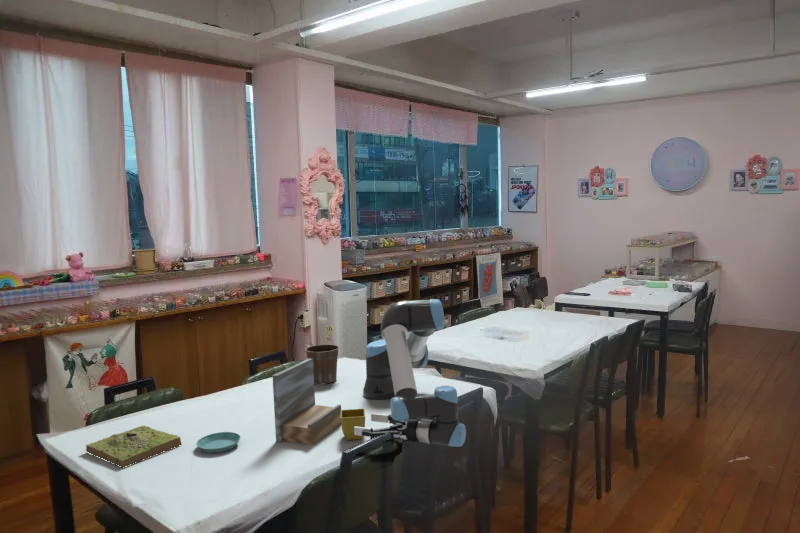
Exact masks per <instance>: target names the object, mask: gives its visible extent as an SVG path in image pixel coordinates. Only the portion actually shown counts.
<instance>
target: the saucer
mask: <svg viewBox="0 0 800 533" xmlns="http://www.w3.org/2000/svg"><path fill="white" fill-rule="evenodd" d="M240 440H241V435H240V434H239V433H236V432H233V431H232V432H231V431H222V432H221V431H220V432H215V433H211V434H208V435H205V436H203V437H200V438H199V439H198V440H197V441H196V443H195V444H196V446H197V447H198V448H199V449H200V450H201V451H203V452H204V453H206V454H218V453H224V452H228V451H230V450H231V449H233V448H235V446H236V445H238V443H239V442H240Z"/></svg>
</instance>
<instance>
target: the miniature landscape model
mask: <svg viewBox="0 0 800 533" xmlns="http://www.w3.org/2000/svg"><path fill="white" fill-rule="evenodd" d="M85 445H86V447H85V448H86V449H85V452H86V451H87V452H89V453H91V454H93V455H95V456H98V457H100V458H103V459H105V460H107V461H110V462H112V463H114V464H117V465H119V466H121V467H125V466H128V465H130V464H133V463H135V462H138V461H141V460H143V459H146V458H148V457H150V456H153V455H156V454H159V453H161V452H163V451H166V450H169V449H171V448H174V447H176V448H178V447H177V446H179V445H181V446H182V440H181V437H180V436H179V435H177V434H173V433H172V434H171V433H169V432H165V431H161V430H157V429H155V428H151V427H150V426H147V425H141V426H137V427H134V428H132V429H128V430H126V431H123V432H120V433H115V434H112V435H110V436H108V437H105V438H102V439H100V440H98V441H95V442H91V443H89V444H85ZM179 447H180V446H179ZM174 449H175V448H174ZM171 450H172V449H171ZM169 451H170V450H169ZM166 452H167V451H166ZM161 454H162V453H161ZM159 455H160V454H159ZM156 456H157V455H156ZM146 460H147V459H146ZM141 462H142V461H141ZM138 463H139V462H138ZM133 465H134V464H133ZM128 467H129V466H128Z"/></svg>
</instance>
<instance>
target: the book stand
mask: <svg viewBox="0 0 800 533" xmlns="http://www.w3.org/2000/svg"><path fill="white" fill-rule="evenodd" d="M271 377H272V388H273V390H272V393H273V409H274V411H273V412H274V428H275V441H276V442H279V443H281V442H287V443H294V444H300V445H308V446H312V445H314V444H315V443H317V442H319V441H320V440H321V439H323V437H325V436H327V435H328V434H329V433H331V432H332V431H333V430H335V429H336V428H338V427H339V426H340V425H341V419H340V416H341V410H342V405H341V404H337V405H335V406H328V405H317V404H316V396H315V393H316V390H315V383H314V369H313V359H308V358H306V359H305V360H302V361H301V362H298V363H296V364H294V365H292V366H289V367H287V368H286V369H283V370H281V371H278V372H276V373H274V374H272V376H271Z"/></svg>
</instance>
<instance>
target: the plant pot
mask: <svg viewBox="0 0 800 533" xmlns="http://www.w3.org/2000/svg"><path fill="white" fill-rule="evenodd" d="M339 350H340V346H339V345H337V344H317V345H315V344H314V345H311V346H308V347H306V348H305V350H304V351H305V353H306V359H313V369H314V385H326V384H330V383H334V382H336V381H337V370H338V356H339Z"/></svg>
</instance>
